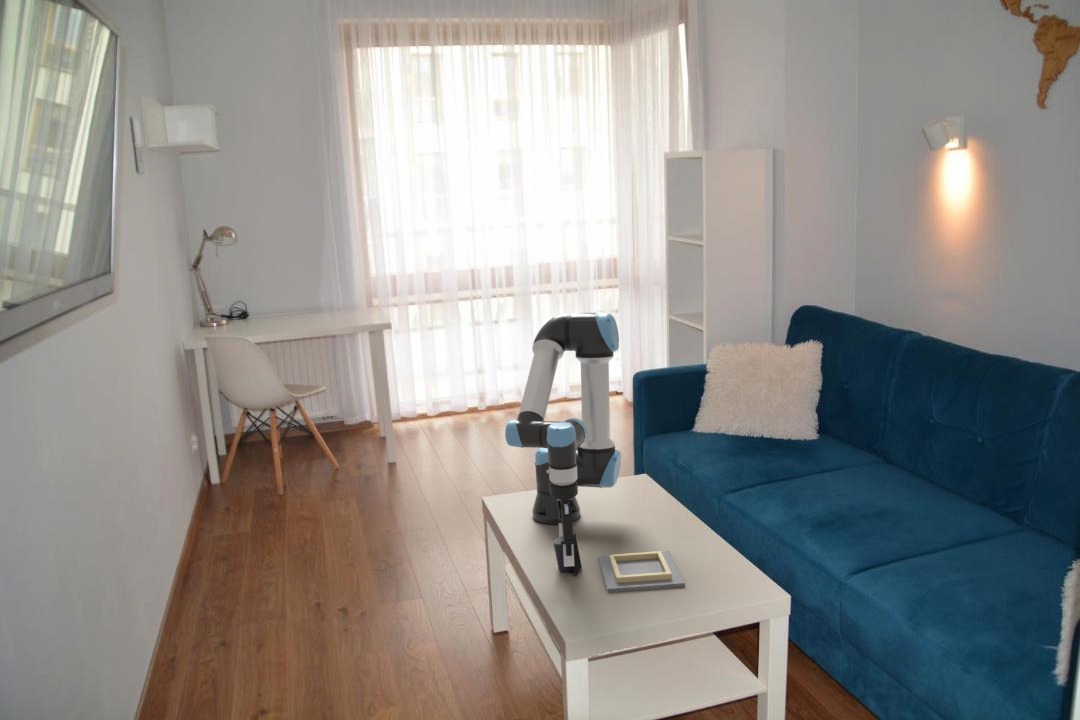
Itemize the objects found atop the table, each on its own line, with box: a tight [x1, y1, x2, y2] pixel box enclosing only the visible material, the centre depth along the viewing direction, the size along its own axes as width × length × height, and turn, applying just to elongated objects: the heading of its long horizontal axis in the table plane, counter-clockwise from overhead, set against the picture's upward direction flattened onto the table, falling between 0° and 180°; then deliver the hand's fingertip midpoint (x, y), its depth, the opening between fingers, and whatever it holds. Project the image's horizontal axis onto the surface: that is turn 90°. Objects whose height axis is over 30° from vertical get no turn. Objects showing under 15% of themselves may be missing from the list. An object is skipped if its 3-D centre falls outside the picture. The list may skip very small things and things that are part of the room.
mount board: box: [597, 550, 686, 593], centre depth 231 cm, size 20×20×2 cm
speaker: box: [552, 531, 583, 577], centre depth 234 cm, size 8×6×10 cm
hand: (566, 555), depth 234 cm, fingers open, 13 cm apart
